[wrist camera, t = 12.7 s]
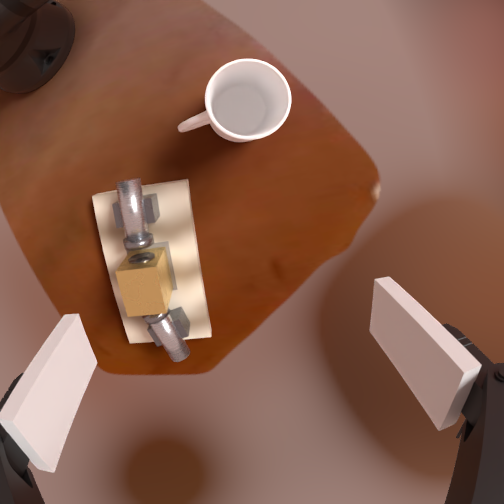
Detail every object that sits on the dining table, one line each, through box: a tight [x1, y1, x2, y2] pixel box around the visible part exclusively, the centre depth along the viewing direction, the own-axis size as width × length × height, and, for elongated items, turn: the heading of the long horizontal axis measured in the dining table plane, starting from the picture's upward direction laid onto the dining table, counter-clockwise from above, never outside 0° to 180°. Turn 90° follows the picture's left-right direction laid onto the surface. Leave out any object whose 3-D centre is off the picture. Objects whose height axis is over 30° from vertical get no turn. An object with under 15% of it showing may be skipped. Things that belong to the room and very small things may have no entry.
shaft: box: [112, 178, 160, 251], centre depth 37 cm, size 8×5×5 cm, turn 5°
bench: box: [92, 179, 211, 343], centre depth 43 cm, size 23×13×2 cm, turn 5°
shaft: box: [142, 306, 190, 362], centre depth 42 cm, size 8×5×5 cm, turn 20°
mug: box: [178, 59, 291, 142], centre depth 33 cm, size 12×8×12 cm
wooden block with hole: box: [115, 247, 173, 317], centre depth 39 cm, size 6×5×7 cm
